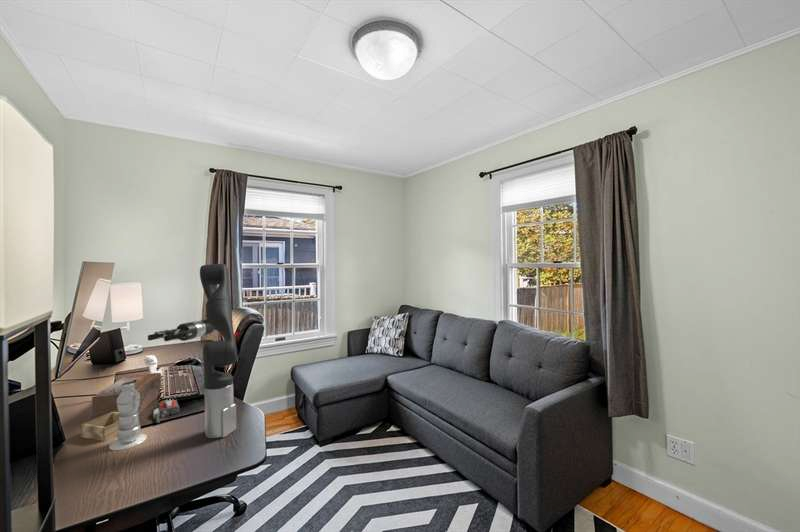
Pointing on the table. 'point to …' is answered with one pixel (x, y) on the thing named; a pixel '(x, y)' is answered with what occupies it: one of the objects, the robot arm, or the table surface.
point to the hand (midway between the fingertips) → (156, 338)
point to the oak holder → (101, 427)
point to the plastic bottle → (128, 413)
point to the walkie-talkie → (165, 409)
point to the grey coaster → (122, 446)
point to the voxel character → (152, 364)
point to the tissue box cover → (108, 397)
